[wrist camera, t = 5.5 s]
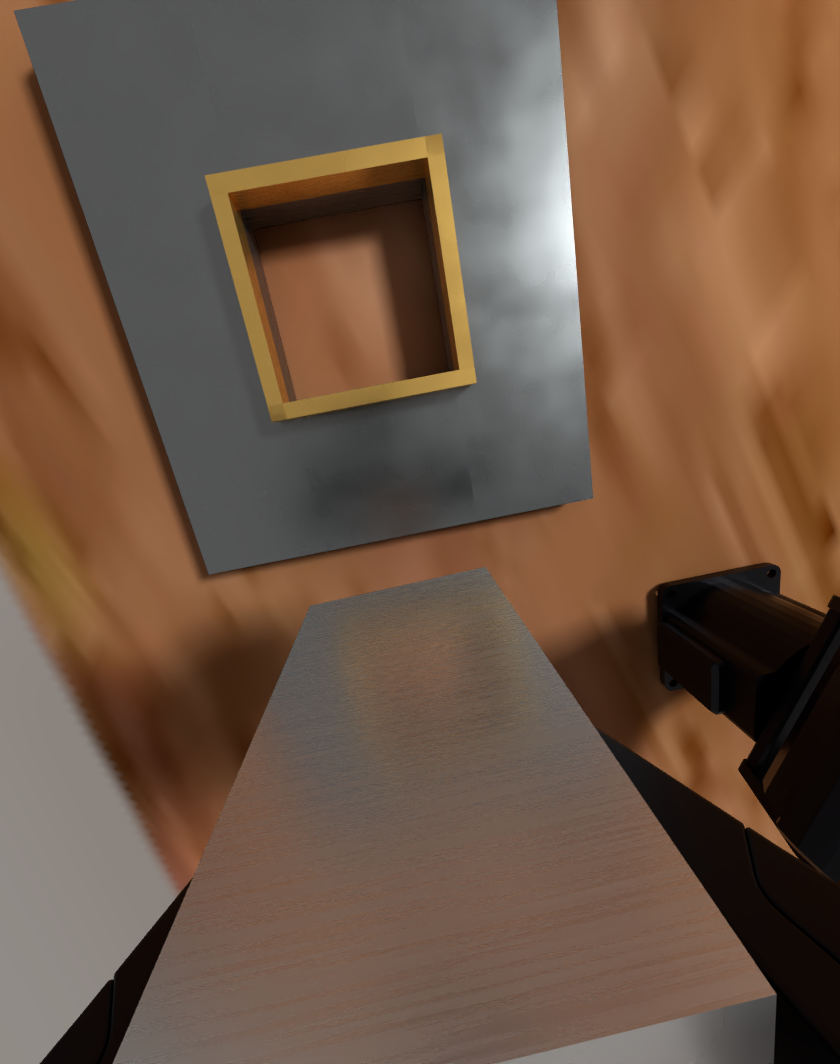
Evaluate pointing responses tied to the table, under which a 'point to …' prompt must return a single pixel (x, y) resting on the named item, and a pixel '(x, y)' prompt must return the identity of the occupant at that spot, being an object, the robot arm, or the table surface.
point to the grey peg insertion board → (316, 191)
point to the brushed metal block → (441, 870)
